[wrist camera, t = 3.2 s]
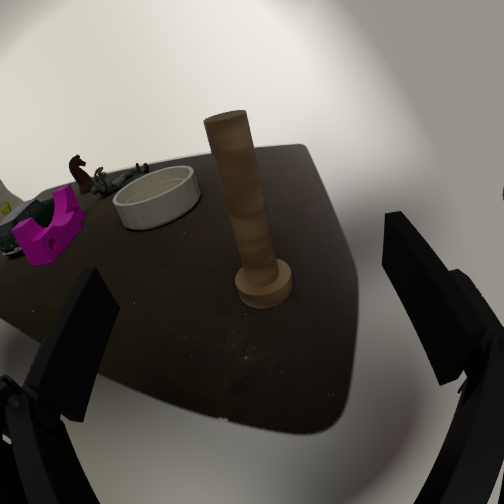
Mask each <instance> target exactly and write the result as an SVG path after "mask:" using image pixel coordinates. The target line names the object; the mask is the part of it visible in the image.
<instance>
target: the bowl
mask: <svg viewBox="0 0 504 504" xmlns="http://www.w3.org/2000/svg"><path fill="white" fill-rule="evenodd" d="M200 195H201V193H200V190H199V187H198V184H197V180H196V177H195V174H194V171H193V168H191V167H189V166H174V167H168V168H165V169H161V170H157V171H155V172H152V173H149V174H147V175H144V176H142V177H140V178H138V179H136V180H134V181H133V182H131V183H129V184H128V185H126V186H125V187H124V188H122V189H121V190H120V191H119V192H118V193H117V194H116V195H115V196H114V199H113V203H114V206H115V208H116V210H117V212H118V215H119V217H120V219H121V221H122V223H123V225H124V227H127V228H129V229H134V230H147V229H152V228H156V227H159V226H162V225H165V224H167V223H170V222H172V221H174V220H176V219H178V218H179V217H181V216H183V215H184V214H186V213H187V212H188V211H189V210H191V209H192V208H193V207H194V205H195V204H196V202H197V201H198V200H199V197H200Z"/></svg>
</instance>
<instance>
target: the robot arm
mask: <svg viewBox="0 0 504 504" xmlns="http://www.w3.org/2000/svg"><path fill="white" fill-rule="evenodd" d="M382 266H383V268H384V270H385V272H386V274H387V276H388V277H389V279H390V281H391V283H392V285H393V287H394V289H395V290H396V292H397V294H398V296H399V298H400V300H401V302H402V304H403V306H404V308H405V310H406V312H407V314H408V316H409V318H410V320H411V322H412V324H413V326H414V328H415V330H416V332H417V334H418V337H419V339H420V341H421V343H422V345H423V348H424V350H425V352H426V354H427V357H428V359H429V361H430V363H431V366H432V368H433V370H434V373H435V375H436V378H437V380H438V382H439V385H440V386H441V385H444V384H446V383H449V382H452V381H454V380H456V379H458V378H459V376H460V375H461V373H462V371H463V370H464V372H465V374H466V376H467V378H466V380H465V381H464V383H463V384H462V385H461V387H460V388H459V390H458V392H457V393H460V392H461V391H462V393H461V396H460V399H459V402H458V405H457V408H456V412H455V414H454V417H453V420H452V422H451V425H450V428H449V430H448V433H447V435H446V438H445V441H444V443H443V445H442V448H441V450H440V452H439V455H438V457H437V459H436V461H435V463H434V466H433V468H432V470H431V472H430V474H429V476H428V478H427V480H426V482H425V484H424V486H423V487H422V489H421V491H420V493H419V495H418V497H417V498H416V500H415V502H414V504H487V503H488V500H489V498H490V495H491V493H492V491H493V488H494V485H495V483H496V480H497V478H498V475H499V472H500V469H501V466H502V463H503V460H504V327H503V326H502V325H501V323H500V322H499V320H498V318H497V317H496V315H495V314H494V312H493V311H492V309H491V308H490V306H489V305H488V303H487V302H486V300H485V299H484V297H482V296H481V293H480V292H479V290H478V289H476V286H475V285H474V283H473V282H472V281H471V279H470V278H469V277H468V276H467V275H466V274H464V273H463V272H461V271H460V270H459V269H455V270H451V271H448V269H447V268H446V267H445V265H444V264H443V263H442V261H441V260H440V259H439V257H438V256H437V255H436V253H435V252H434V251H433V249H432V248H431V247H430V246H429V244H428V243H427V242H426V241H425V239H424V238H423V237H422V236H421V234H420V233H419V232H418V231H417V230H416V228H415V227H414V226H413V225H412V224H411V222H410V221H409V220H408V219H407V218H406V217H405V215H404V214H403V213H402V212H401V211H398V212H392V213H385V225H384V242H383V256H382ZM119 309H120V307H119V305H118V304H117V302H116V301H115V299H114V297H113V296H112V294H111V293H110V291H109V289H108V288H107V286H106V284H105V283H104V281H103V279H102V277H101V276H100V274H99V272H98V270H97V269H96V267H91V268H86V269H83V271H82V272H81V274H80V276H79V278H78V279H77V281H76V283H75V284H74V286H73V288H72V290H71V292H70V293H69V295H68V297H67V299H66V301H65V302H64V304H63V306H62V308H61V310H60V312H59V314H58V316H57V318H56V320H55V322H54V324H53V326H52V328H51V330H50V332H49V334H48V335H47V336H46V337H45V339H44V340H43V341H42V343H41V345H40V348H39V350H38V353H37V354H36V356H35V358H34V359H35V360H34V361H33V363H32V365H31V367H30V370H29V372H28V374H27V377H26V379H25V382H24V384H23V386H22V388H21V387H20V386H19V385H18V384H17V383H16V382H15V381H14V380H13V379H12V378H11V377H10V376H8V375H3V376H1V377H0V504H100V503H99V501H98V499H97V497H96V495H95V493H94V491H93V489H92V487H91V486H90V484H89V481H88V479H87V477H86V475H85V473H84V471H83V469H82V467H81V464H80V462H79V460H78V458H77V455H76V453H75V450H74V448H73V446H72V443H71V440H70V438H69V435H68V433H67V430H66V427H65V424H64V423H63V421H62V420H60V415H61V414H62V415H63V416H65V417H66V418H67V419H69V420H70V421H76V422H83V421H84V417H85V413H86V410H87V406H88V402H89V399H90V395H91V392H92V388H93V385H94V382H95V379H96V375H97V372H98V369H99V366H100V363H101V360H102V357H103V354H104V351H105V348H106V345H107V342H108V339H109V336H110V334H111V331H112V328H113V325H114V323H115V320H116V317H117V315H118V312H119ZM3 434H4V435H5V436H7V437H8V438H10V439H11V444H8V443H7V442H5V441H4V440H3ZM498 504H504V473H503V480H502V486H501V491H500V496H499V500H498Z"/></svg>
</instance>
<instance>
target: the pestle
mask: <svg viewBox="0 0 504 504" xmlns="http://www.w3.org/2000/svg"><path fill="white" fill-rule="evenodd" d="M203 122H204V126H205V130H206V133H207V137H208V141H209V145H210V148H211V152H212V156H213V159H214V163H215V167H216V171H217V174H218V178H219V182H220V185H221V189H222V193H223V196H224V200H225V204H226V207H227V211H228V214H229V218H230V222H231V225H232V229H233V233H234V236H235V240H236V243H237V247H238V250H239V254H240V258H241V261H242V265H243V267H242V268H241V269H240V270H239V271H238V273H237V275H236V278H235V283H236V287H237V290H238V293H239V296H240V299H241V300H242V302H243V303H245V304H246V305H248V306H250V307H253V308H258V309H265V308H271V307H274V306H277V305H279V304H281V303H282V302H284V301H285V300H286V299H287V298H288V297H289V296H290V294H291V293H292V290H293V281H292V275H291V269H290V267H289V266H288V264H287V263H285V262H284V261H282V260H280V259H276V253H275V248H274V243H273V238H272V233H271V228H270V223H269V218H268V213H267V208H266V203H265V198H264V193H263V188H262V183H261V179H260V174H259V169H258V164H257V160H256V155H255V150H254V145H253V141H252V136H251V132H250V127H249V123H248V119H247V113H246V111H245V110H237V111H230V112H225V113H221V114H217V115H214V116H211V117H209V118H207V119H205V120H204V121H203Z"/></svg>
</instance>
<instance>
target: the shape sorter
mask: <svg viewBox="0 0 504 504" xmlns="http://www.w3.org/2000/svg"><path fill="white" fill-rule="evenodd" d="M23 202H24V201H23V200H22V199H21V198H19V197H17V196H15V195H14V194H12V193H11V192H10V191H9V190H8V189H7V188H6V187H5V186H4V184H3V183H2V181H1V180H0V223H1V222H2V221H3V219H4V218H5V217H6V216H7V215H8V214H9V213H10V212H11V211H12V210H14V209H15V208H16V207H17V206H19V205H20V204H22V203H23Z"/></svg>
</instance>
